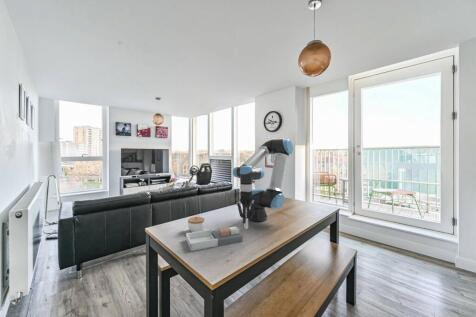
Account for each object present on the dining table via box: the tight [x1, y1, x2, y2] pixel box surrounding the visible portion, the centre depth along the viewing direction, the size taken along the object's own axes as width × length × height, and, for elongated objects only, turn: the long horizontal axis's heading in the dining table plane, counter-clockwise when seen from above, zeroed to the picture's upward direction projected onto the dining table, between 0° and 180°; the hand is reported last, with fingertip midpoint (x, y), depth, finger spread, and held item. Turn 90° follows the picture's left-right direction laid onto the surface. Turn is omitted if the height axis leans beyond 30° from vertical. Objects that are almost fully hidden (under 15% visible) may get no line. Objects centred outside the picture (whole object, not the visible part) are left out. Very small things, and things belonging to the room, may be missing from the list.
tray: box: [185, 229, 219, 252], centre depth 114 cm, size 15×15×4 cm
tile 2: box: [227, 226, 240, 235], centre depth 122 cm, size 5×5×2 cm
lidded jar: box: [187, 216, 205, 232], centre depth 132 cm, size 11×11×9 cm
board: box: [211, 229, 244, 247], centre depth 120 cm, size 15×14×3 cm
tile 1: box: [218, 227, 230, 236], centre depth 120 cm, size 5×5×2 cm
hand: (246, 228), depth 125 cm, fingers closed
